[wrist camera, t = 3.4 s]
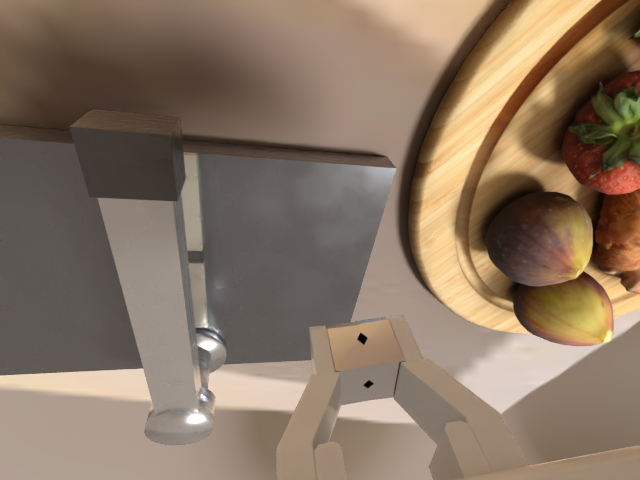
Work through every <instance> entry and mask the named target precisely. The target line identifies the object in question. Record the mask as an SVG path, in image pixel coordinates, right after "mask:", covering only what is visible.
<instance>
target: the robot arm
mask: <svg viewBox="0 0 640 480" xmlns="http://www.w3.org/2000/svg"><path fill="white" fill-rule="evenodd" d="M309 332H310V348H311V359H312V368H313V375H312V376H311V378H310V380H309V382H308V384H307V386H306V388H305V390H304V392H303V394H302V397H301V399H300V401H299V403H298V405H297V407H296V409H295V411H294V413H293V415H292V418H291V419H290V422H289V424H288V426H287V428H286V430H285V432H284V434H283V436H282V439H281V441H280V442H279V445H278V447H277V449H276V462H277V480H347V478H346V472H345V467H344V461H343V456H342V451H341V446H340V445H338V444H337V443H336V442H329V439H330V436H331V433H332V430H333V427H334V425H335V422H336V419H337V416H338V413H339V410H340V405H346V404H351V403H356V402H362V401H368V400H375V399H383V398H391V397H394V399H395V400H396V402H397V403H398V404H399V405H400V406H401V407H402V408H403V409H404V410H405V411H406V412H407V413H408V414H409V415H410V416H411V417H412V419H413V420H414V421H415V422H416V423H417V424H418V425H419V426H420V427H421V428H422V429H423V430H424V431H425V432H426V433H427V434H428V435H429V437H430V438H431V439H432V440H433V441H434V442H435V443H436V444H437V448H436V450H435V453H434V455H433V458H432V460H431V462H430V465H429V469H430V472H431V475H432V478H433V480H640V445H639V446H633V447H628V448H623V449H617V450H612V451H606V452H601V453H595V454H590V455H585V456H579V457H574V458H569V459H563V460H557V461H552V462H547V463H542V464H536V465H530V466H529V464H528V462H527V460H526V459H525V457H524V455H523V454H522V452H521V450H520V448H519V446H518V445H517V443H516V441H515V439H514V438H513V436H512V434H511V432H510V431H509V429H508V427H507V425H506V424H505V422H504V420H503V418H502V417H501V415H500V413H499V412H498V411H496V410H495V409H494V408H492V407H491V406H490V405H488V404H487V403H486V402H484V401H483V400H482V399H480V398H479V397H478V396H477V395H475V394H474V393H473V392H471V391H470V390H469V389H467V388H466V387H465V386H463V385H462V384H461V383H460V382H458V381H457V380H456V379H454V378H453V377H452V376H450V375H449V374H448V373H446V372H445V371H444V370H442V369H441V368H440V367H439V366H437V365H436V364H435V363H433V362H432V361H431V360H429V359H423V357H422V355H421V353H420V350H419V348H418V346H417V344H416V341H415V339H414V337H413V335H412V333H411V330H410V328H409V326H408V324H407V322H406V319H405V317H404V316H402V315H399V316H391V317H381V318H375V319H368V320H361V321H356V322H350V323H341V324H331V325H326V326H325V325H322V326H314V327H310V328H309ZM328 442H329V443H328Z"/></svg>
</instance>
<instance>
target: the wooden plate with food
mask: <svg viewBox="0 0 640 480" xmlns="http://www.w3.org/2000/svg"><path fill="white" fill-rule="evenodd" d="M408 233H409V240H410V247H411V251H412V254H413V257H414V260H415V263H416V266H417V269H418V271H419V273H420V275H421V277H422V279H423V280H424V282H425V284H426V285H427V287H428V288H429V290H430V291H431V292H432V294H433V295H434V296H435V297H436V298H437V299H438V300H439V301H440V302H441V303H442V304H443V305H444V306H446V307H447V308H448V309H449V310H450V311H452V312H453V313H455V314H457V315H458V316H460V317H462V318H464V319H465V320H467V321H469V322H472V323H474V324H477V325H480V326H482V327H486V328H490V329H494V330H499V331H506V332H514V333H532V334H533V335H536V336H538V337H541V338H543V339H545V340H548V341H550V342H554V343H558V344H562V345H571V346H591V345H597V344H600V343H603V342H606V343H608V342H610V341H611V339H612V336H613V318H615V317H618V316H621V315H624V314H627V313H629V312H632V311H634V310H637V309H639V308H640V0H511V1H510V2H509V4H508V5H507V6H506V7H505V9H504V10H503V11H502V12H501V13H500V15H499V16H498V17H497V18H496V20H495V21H494V22H493V23H492V24H491V26H490V27H489V28H488V29H487V31H486V32H485V33H484V35H483V36H482V38H481V39H480V40H479V42H478V43H477V44H476V46H475V47H474V48H473V50H472V51H471V52H470V54H469V55H468V56H467V58H466V59H465V61H464V63H463V64H462V66H461V68H460V70H459V71H458V73H457V75H456V76H455V78H454V80H453V81H452V83H451V85H450V87H449V88H448V90H447V92H446V93H445V95H444V97H443V99H442V101H441V103H440V105H439V107H438V109H437V111H436V113H435V115H434V117H433V120H432V122H431V124H430V127H429V129H428V131H427V134H426V136H425V139H424V141H423V144H422V147H421V150H420V153H419V156H418V160H417V164H416V168H415V172H414V177H413V181H412V185H411V191H410V201H409V210H408Z"/></svg>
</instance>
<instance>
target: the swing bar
mask: <svg viewBox="0 0 640 480" xmlns="http://www.w3.org/2000/svg"><path fill="white" fill-rule="evenodd" d="M69 128H70V131H71V135H72V138H73V142H74V145H75V149H76V152H77V156H78V159H79V163H80V166H81V170H82V173H83V177H84V180H85V184H86V187H87V191H88V194H89V197H93V198H98V202H99V205H100V209H101V213H102V216H103V220H104V224H105V228H106V231H107V235H108V239H109V243H110V246H111V250H112V254H113V257H114V261H115V265H116V269H117V272H118V276H119V280H120V283H121V287H122V291H123V295H124V298H125V302H126V306H127V309H128V313H129V317H130V321H131V324H132V328H133V332H134V336H135V339H136V343H137V347H138V350H139V354H140V358H141V362H142V365H143V369H144V373H145V376H146V380H147V384H148V388H149V391H150V395H151V399H152V402H151V407H150V411H149V415H148V419H147V423H146V427H145V435H146V436H147V437H148V438H149V439H150V440H152V441H154V442H157V443H161V444H165V445H186V444H191V443H195V442H198V441H201V440H203V439H205V438H206V437H208V436H209V435H210V434H211V432H212V430H213V420H214V409H215V396H214V394H213V393H212V392H211V391H209V390H208V389H206V388H203V387H201V378H200V368H199V358H198V348H197V339H196V329H195V319H194V310H193V300H192V290H191V281H190V271H189V261H188V252H187V242H186V232H185V223H184V213H183V203H182V194H181V191H182V188H183V185H184V182H185V180H186V175H185V164H184V154H183V143H182V132H181V121H180V117H170V116H160V115H150V114H139V113H129V112H119V111H108V110H98V109H91V110H90V111H89V112H88V113H86V114H85V115H84V116H82V117H81V118H80V119H78V120H77V121H76V122H74V123H73V124H72V125H71V126H69Z"/></svg>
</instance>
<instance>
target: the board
mask: <svg viewBox="0 0 640 480" xmlns="http://www.w3.org/2000/svg"><path fill="white" fill-rule="evenodd" d="M182 143H183V154H184V164H185V175H186V180H185V182H184V185H183V188H182V191H181V194H182V203H183V213H184V223H185V232H186V242H187V252H188V261H189V271H190V281H191V290H192V300H193V310H194V319H195V329H196V339H197V348H198V358H199V368H200V378H201V387H203V388H206V389H208V381H209V373H211V372H213V371H215V370H217V369H219V368H220V367H221V366H222V365H223V364H241V363H261V362H281V361H302V360H312V359H311V348H310V332H309V328H310V327H314V326H322V325H325V326H326V325H331V324H341V323H350V321H351V318H352V315H353V311H354V308H355V305H356V301H357V298H358V295H359V291H360V288H361V285H362V281H363V278H364V275H365V271H366V268H367V265H368V261H369V258H370V255H371V251H372V248H373V245H374V241H375V238H376V235H377V231H378V228H379V225H380V221H381V218H382V214H383V211H384V208H385V204H386V201H387V198H388V194H389V191H390V188H391V184H392V181H393V178H394V174H395V171H396V167H395V166H394V165H393V164H392V162H391V161H390V160H389V158H388V157H381V156H369V155H357V154H345V153H333V152H321V151H309V150H297V149H285V148H273V147H261V146H249V145H237V144H225V143H213V142H201V141H189V140H182ZM139 368H143V365H142V362H141V358H140V354H139V350H138V347H137V343H136V339H135V336H134V332H133V328H132V324H131V321H130V317H129V313H128V309H127V306H126V302H125V298H124V295H123V291H122V287H121V283H120V280H119V276H118V272H117V269H116V265H115V261H114V257H113V254H112V250H111V246H110V243H109V239H108V235H107V231H106V228H105V224H104V220H103V216H102V213H101V209H100V205H99V202H98V198H93V197H89V194H88V191H87V187H86V184H85V180H84V177H83V173H82V170H81V166H80V163H79V159H78V156H77V152H76V149H75V145H74V142H73V138H72V135H71V131H70V130H58V129H46V128H34V127H22V126H10V125H0V375H16V374H37V373H57V372H77V371H98V370H118V369H139Z"/></svg>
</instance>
